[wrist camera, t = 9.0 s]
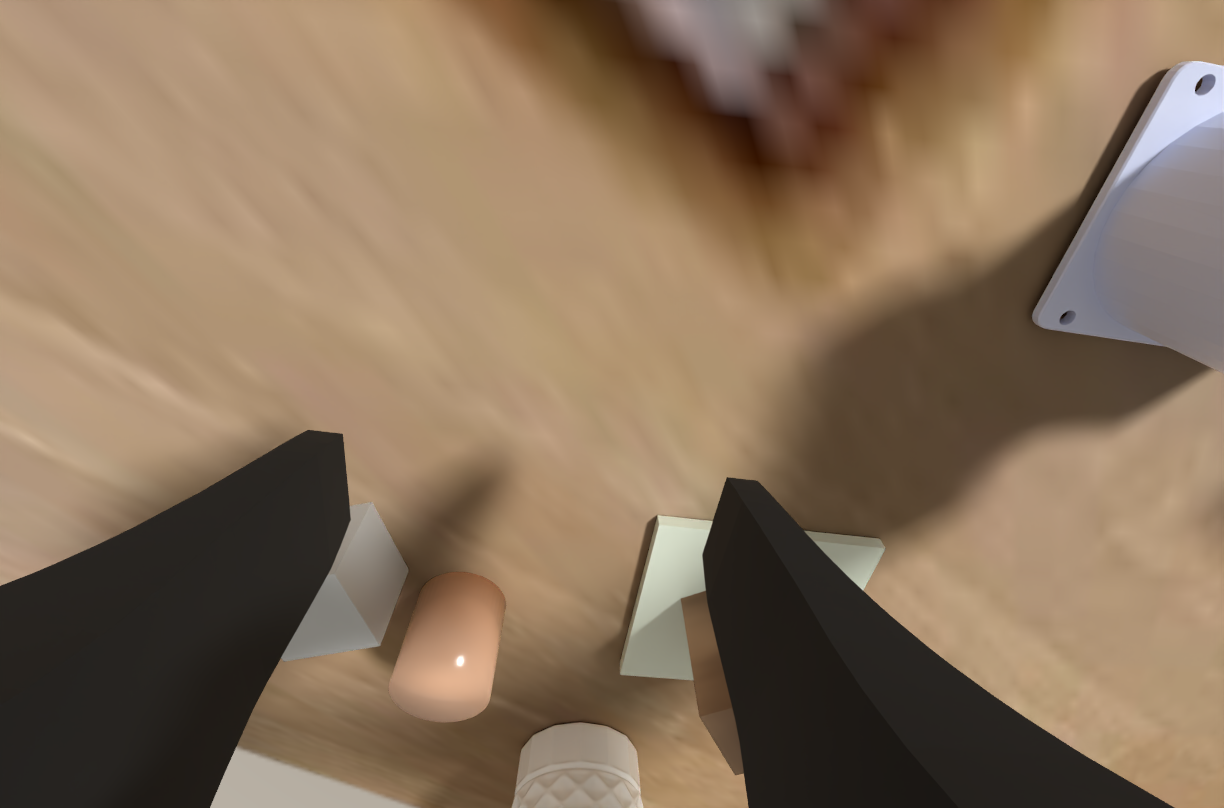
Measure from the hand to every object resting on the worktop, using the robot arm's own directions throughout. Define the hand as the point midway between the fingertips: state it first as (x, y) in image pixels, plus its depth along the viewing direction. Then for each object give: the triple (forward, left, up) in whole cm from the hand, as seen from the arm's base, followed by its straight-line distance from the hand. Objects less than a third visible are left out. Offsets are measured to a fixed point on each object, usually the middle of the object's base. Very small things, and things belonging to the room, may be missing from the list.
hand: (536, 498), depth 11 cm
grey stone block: (+8, +12, -10) cm, 18 cm away
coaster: (-10, +14, -10) cm, 20 cm away
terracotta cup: (+3, +15, -10) cm, 18 cm away
